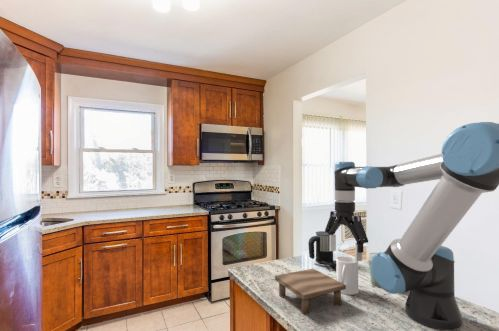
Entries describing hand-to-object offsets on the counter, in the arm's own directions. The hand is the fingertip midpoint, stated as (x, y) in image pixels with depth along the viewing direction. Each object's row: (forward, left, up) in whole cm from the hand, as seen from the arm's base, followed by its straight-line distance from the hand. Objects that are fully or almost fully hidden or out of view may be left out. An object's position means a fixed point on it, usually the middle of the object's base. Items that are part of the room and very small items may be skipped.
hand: (345, 255), depth 107 cm
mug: (0, 0, -14) cm, 14 cm away
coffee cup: (-1, -17, -14) cm, 22 cm away
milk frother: (+27, -15, -14) cm, 34 cm away
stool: (+1, +17, -14) cm, 22 cm away
